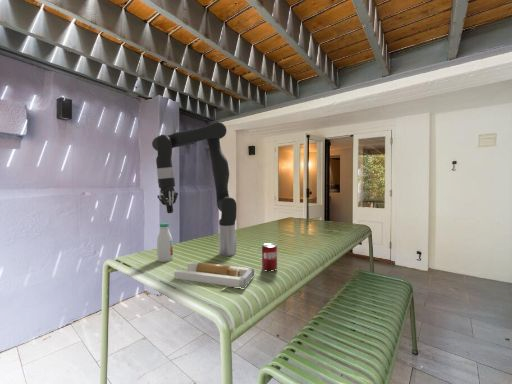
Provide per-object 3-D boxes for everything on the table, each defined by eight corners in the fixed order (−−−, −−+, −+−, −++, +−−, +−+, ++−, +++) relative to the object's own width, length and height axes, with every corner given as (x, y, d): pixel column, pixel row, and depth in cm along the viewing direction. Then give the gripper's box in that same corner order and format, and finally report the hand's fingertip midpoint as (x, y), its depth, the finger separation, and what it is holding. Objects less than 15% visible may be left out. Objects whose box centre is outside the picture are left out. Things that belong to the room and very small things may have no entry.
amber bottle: (202, 262, 110) (241, 266, 105) (201, 274, 109) (240, 279, 104) (196, 262, 105) (237, 267, 100) (195, 276, 104) (236, 281, 99)
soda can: (261, 267, 119) (261, 243, 118) (275, 266, 119) (275, 242, 118) (262, 272, 111) (262, 247, 111) (278, 272, 112) (278, 246, 111)
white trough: (174, 280, 104) (174, 271, 103) (190, 269, 116) (190, 261, 116) (244, 289, 94) (244, 280, 94) (253, 277, 107) (253, 268, 106)
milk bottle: (167, 262, 125) (166, 225, 124) (154, 261, 127) (153, 224, 126) (175, 258, 133) (174, 222, 132) (163, 257, 134) (162, 221, 133)
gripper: (163, 177, 108) (168, 215, 110) (180, 176, 121) (184, 210, 122) (149, 178, 111) (154, 215, 112) (168, 177, 123) (172, 210, 125)
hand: (170, 212), depth 117 cm, fingers closed
